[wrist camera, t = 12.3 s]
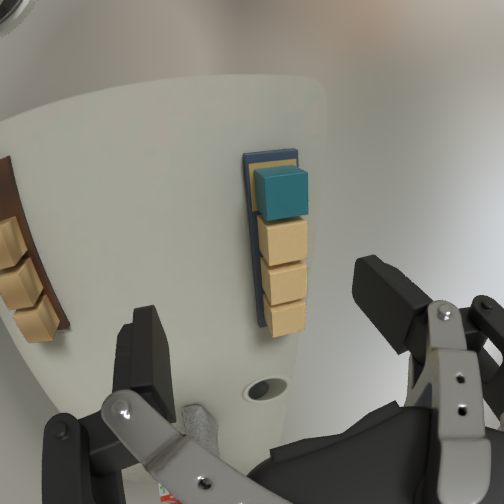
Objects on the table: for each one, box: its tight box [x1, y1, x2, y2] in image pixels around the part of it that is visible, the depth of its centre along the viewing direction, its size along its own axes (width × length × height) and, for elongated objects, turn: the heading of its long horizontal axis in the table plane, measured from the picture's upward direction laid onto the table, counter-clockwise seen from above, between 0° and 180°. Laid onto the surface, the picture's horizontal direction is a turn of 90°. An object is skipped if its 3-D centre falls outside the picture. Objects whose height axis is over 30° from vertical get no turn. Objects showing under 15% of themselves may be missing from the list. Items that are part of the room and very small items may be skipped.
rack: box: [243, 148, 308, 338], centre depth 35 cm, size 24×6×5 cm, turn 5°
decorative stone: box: [182, 405, 219, 457], centre depth 44 cm, size 11×6×15 cm, turn 8°
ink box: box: [158, 483, 182, 504], centre depth 56 cm, size 4×8×15 cm, turn 121°
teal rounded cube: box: [254, 165, 308, 221], centre depth 30 cm, size 4×4×4 cm
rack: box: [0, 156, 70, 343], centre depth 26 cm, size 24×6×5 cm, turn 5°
